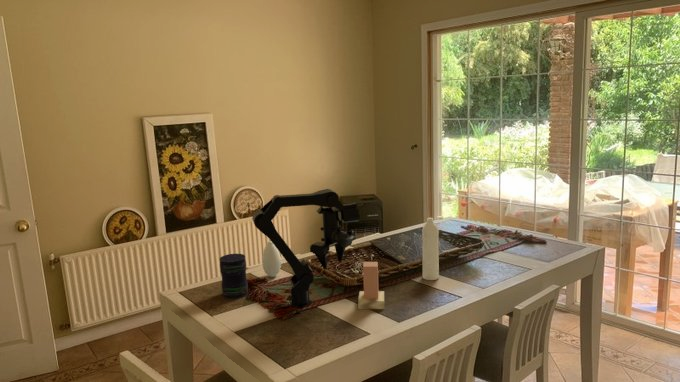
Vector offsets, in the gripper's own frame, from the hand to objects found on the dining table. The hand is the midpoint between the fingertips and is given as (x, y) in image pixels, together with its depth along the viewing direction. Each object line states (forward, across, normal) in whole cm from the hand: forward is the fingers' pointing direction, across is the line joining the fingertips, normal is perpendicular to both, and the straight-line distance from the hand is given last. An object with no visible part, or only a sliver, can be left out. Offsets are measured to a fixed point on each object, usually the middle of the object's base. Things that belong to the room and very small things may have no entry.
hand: (332, 265), depth 184 cm
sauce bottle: (+13, +6, +37) cm, 40 cm away
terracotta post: (+10, +3, -14) cm, 18 cm away
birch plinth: (+13, +3, -14) cm, 20 cm away
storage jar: (+13, -16, +36) cm, 42 cm away
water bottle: (+14, +38, -22) cm, 46 cm away
